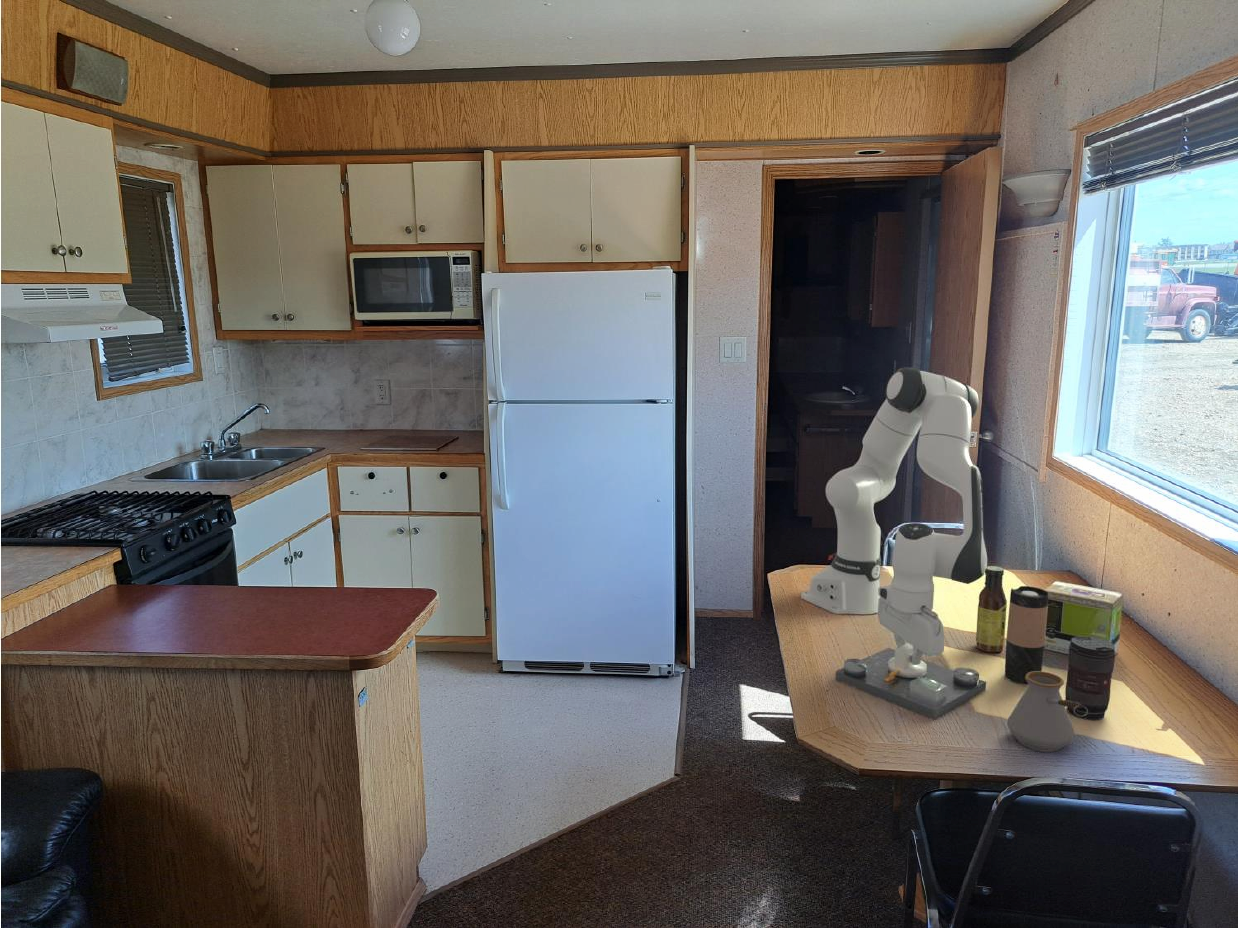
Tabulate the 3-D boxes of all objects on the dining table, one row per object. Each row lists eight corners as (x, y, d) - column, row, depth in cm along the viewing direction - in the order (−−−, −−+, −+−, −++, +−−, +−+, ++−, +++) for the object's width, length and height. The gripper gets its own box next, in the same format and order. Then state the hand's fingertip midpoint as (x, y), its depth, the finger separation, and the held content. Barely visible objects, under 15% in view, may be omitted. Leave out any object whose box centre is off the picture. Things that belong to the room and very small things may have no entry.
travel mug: (1043, 687, 187) (1051, 599, 183) (1004, 682, 190) (1011, 595, 186) (1039, 673, 194) (1047, 587, 190) (1002, 668, 197) (1009, 584, 193)
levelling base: (835, 679, 192) (836, 654, 191) (888, 655, 204) (889, 631, 203) (934, 719, 174) (935, 691, 172) (985, 690, 186) (987, 664, 185)
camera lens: (1118, 718, 173) (1125, 647, 170) (1085, 724, 171) (1092, 652, 168) (1086, 700, 181) (1092, 632, 178) (1054, 706, 179) (1060, 637, 176)
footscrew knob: (899, 659, 197) (900, 636, 196) (933, 670, 191) (934, 646, 190) (873, 673, 189) (875, 650, 188) (907, 685, 184) (909, 661, 183)
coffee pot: (997, 725, 171) (1003, 653, 168) (1058, 727, 170) (1064, 655, 167) (1039, 785, 150) (1047, 705, 147) (1109, 788, 149) (1118, 707, 146)
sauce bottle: (1006, 654, 204) (1012, 573, 200) (978, 652, 205) (984, 572, 202) (1000, 643, 211) (1006, 565, 207) (972, 642, 212) (978, 563, 208)
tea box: (1118, 651, 205) (1125, 592, 202) (1107, 665, 198) (1114, 603, 195) (1050, 635, 215) (1055, 578, 212) (1037, 648, 208) (1042, 589, 205)
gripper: (954, 614, 179) (949, 676, 182) (898, 582, 199) (895, 639, 201) (927, 617, 178) (923, 680, 180) (874, 585, 197) (871, 642, 200)
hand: (908, 658), depth 191 cm, fingers closed on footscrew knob, 4 cm apart
